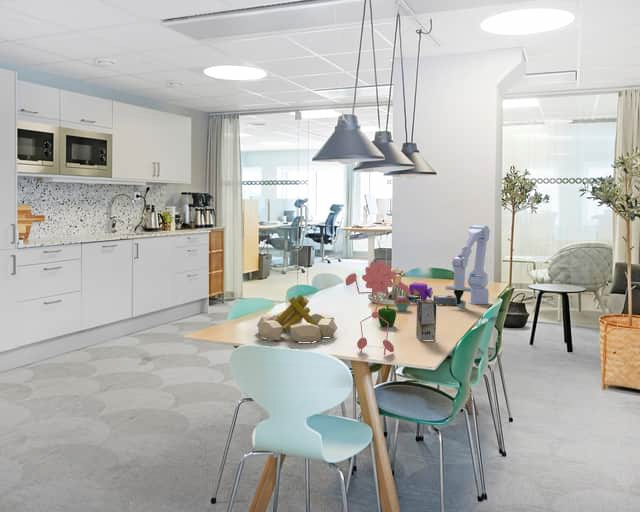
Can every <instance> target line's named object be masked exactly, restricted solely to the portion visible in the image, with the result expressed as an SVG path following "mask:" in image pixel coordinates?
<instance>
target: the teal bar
mask: <svg viewBox="0 0 640 512" xmlns="http://www.w3.org/2000/svg"><path fill="white" fill-rule="evenodd" d="M466 305H467V303H466V300H463V299H462V298H461V299H460V304H457V299H456V305H455V306H457V307H460V308H462V309H466Z"/></svg>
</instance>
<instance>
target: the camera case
mask: <svg viewBox="0 0 640 512" xmlns="http://www.w3.org/2000/svg"><path fill="white" fill-rule="evenodd" d="M432 299H433V300H432V301H433V302H435V303H436V304H442V305H441V306H457V305H456V296H455V295H433V298H432ZM443 304H444V305H443Z"/></svg>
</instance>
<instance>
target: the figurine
mask: <svg viewBox="0 0 640 512" xmlns="http://www.w3.org/2000/svg"><path fill="white" fill-rule="evenodd" d="M364 270H365V274H363V275H361V279H362V280H363V282H365V288H367V289H371V291H360V289H359V285H358V280H357V279H358V278H357V274H356V272H353V273H350V274H349V275H348V276H347V277H346V278H345V280H344V281H345V285H346V287H348V286H350V285H352V284H354V283H355V285H356V290H357V293H358V294H359V295H360V294H361V295H363V294H373V295H374V296H375V297H376V298H377V299H378V300H377V303H376V307H375V310H374V311H372V313H371V315H370V316H368V317H366V318H364V319H362V320H360V322H359V324H360V329H361V333H360V334H361V337H360V338H359V339H358V340H357V342H356V345H357V346H356V347H357V348H358V350H359V351H360V352H359V354H360V353H363V349H364V348H365V346H368V340H367V338H366V337H364V335H363V334H364V333H363V325H362V322H364V321H366V320H368V319H370V318H372V319H379V318H378V317H380V316H379V314H378V308H379V304H380V301H381V298H380V297H382V298H385V299H388V298H390V296H391V294H392V293H393V292H394V291H395V290H396V289H397V287H398V286H399V288H400V289H401V290H402V291H403V292H404V293H405V292H406V294H407V295H408V296H409V295H410V290H409V286H407V285H406V284H404V283H403V282H402V281H401V280H399V281H398V282H397V284H396V285H395V286H394V282H393V280H394V279H395V278H396V275H395V274H394V273H393V272H391V270H392V265H390V264H386V263H385V262H384V261H380V262H378V263H377V262H376V261H374V260H372V261H371V262H370V263H369V266H365V269H364ZM388 288H392V290H391V291H390V292H389V293H388V294H387V296H385V295H383V294H386V293H387V291H388ZM379 292H381V293H383V294H380V293H379ZM379 296H380V297H379ZM380 318H381V317H380ZM381 319H382V320H384V319H383V318H381ZM384 321H385V320H384ZM385 322H386V321H385ZM386 323H388V322H386ZM386 327H387V329H386V336H385V337H386V339H383V340H382V345H383V348H384V347H385V348H384V349H383V355H385V356H386V351H388V352H390V353H391V352H393V353H394V351H395V348H394V347H395V346H394V345H393V343H392V342H391V341H390V340H388V337H389V336H388V335H389V324H388V326H386ZM360 349H361V350H360Z"/></svg>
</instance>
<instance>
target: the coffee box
mask: <svg viewBox="0 0 640 512" xmlns="http://www.w3.org/2000/svg"><path fill="white" fill-rule="evenodd" d="M436 323H437V305H436V303H435V302H433V300H432V299H426V300H417V301H416V332H415V333H416V334H415V336H417V337H418V338H419V339H420V340H435V341H436V330H437V326H436V325H437V324H436ZM417 337H416V338H417ZM418 338H417V339H418ZM419 339H418V340H419ZM420 340H419V341H420Z"/></svg>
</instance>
